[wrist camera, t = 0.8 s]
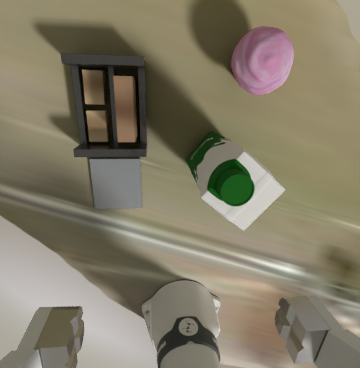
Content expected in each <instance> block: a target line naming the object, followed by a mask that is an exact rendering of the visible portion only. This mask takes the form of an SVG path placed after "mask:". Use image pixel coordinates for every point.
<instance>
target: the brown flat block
mask: <svg viewBox="0 0 360 368" xmlns="http://www.w3.org/2000/svg"><path fill="white" fill-rule="evenodd" d="M113 80H114V94H115V109H116V123H117V138H118V142H135V141H136V138H137V135H138V122H137V97H136V79H135V78H134V77H132V76H113Z"/></svg>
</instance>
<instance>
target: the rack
mask: <svg viewBox="0 0 360 368" xmlns="http://www.w3.org/2000/svg"><path fill="white" fill-rule="evenodd" d="M61 61H62V63H63V64H66V65H69V66H71V71H72V79H73V87H74V95H75V103H76V111H77V119H78V127H79V136H80V145H79V146H78V147H76V148H75V149H73V150H74V157H146V154H147V127H146V90H145V60H144V57H143V56H120V55H94V54H67V53H61ZM81 67H85V68H108V71H109V85H110V98H111V111H112V125H113V138H114V142H89V133H88V124H87V115H86V106H85V96H84V87H83V78H82V69H81ZM115 68H116V69H138V83H139V111H140V139H141V142H118V138H117V123H116V109H115V94H114V80H113V76H116V74H115Z"/></svg>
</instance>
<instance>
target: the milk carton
mask: <svg viewBox="0 0 360 368" xmlns="http://www.w3.org/2000/svg"><path fill="white" fill-rule="evenodd" d="M186 161H187V163H188V166H189V168H190V170H191V172H192V174H193V176H194V179H195V181H196V183H197V185H198V187H199V189H200V191H201V198H202V199H203V200H204V201H205V202H206V203H207V204H209V205H210V206H211V207H212V208H214V209H215V210H216V211H217V212H218V213H219V214H221V215H222V216H223V217H224V218H226V219H227V220H229V221H231V222H233V223H234V224H235V225H236V226H238V227H239V228H240V229H242V230H243V231H244V230H245V229H246V228H247V227H248V226H249V225H250V224H251V223H252V222H253V221H254V220H255V219H256V218H257V217H258V216H259V215H260V214H261V213H262V212H263V211H264V210H265V209H266V208H267V207H268V206H269V205H270V204H271V203H272V202H273V201H274V200H276V199H277V198H278V197H279V196H280V195H281V194H282V193H283V192H284V191H285V189H284V188H283V187H282V186H281V184H280V183H279V182H278V181H277V180H276V179H275V178H274V177H273V176H272V174H271V172H270V171H269V170H268V169H267V168H266V167H265V166H264V165H263V164H262V163H261V162H260V161H259V160H258V159H256V158H255V157H254V156H252V155H251V154H250V153H248V152H247V151H246V150H244V149H243V148H241V147H240V146H238V145H237V144H235V143H233V142H232V141H230V140H228V139H227V138H225V137H223V136H220V135H218V134H215V133H213V132H210V133H209V134H208V135H207V136H206V137H205V138H204V140H203V141H202V142H201V143H200V144H199V145H198V146H197V148H196V149H195V150H194V151H193V152H192V153H191V154H190V156H189V157H188V158H187V159H186Z"/></svg>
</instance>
